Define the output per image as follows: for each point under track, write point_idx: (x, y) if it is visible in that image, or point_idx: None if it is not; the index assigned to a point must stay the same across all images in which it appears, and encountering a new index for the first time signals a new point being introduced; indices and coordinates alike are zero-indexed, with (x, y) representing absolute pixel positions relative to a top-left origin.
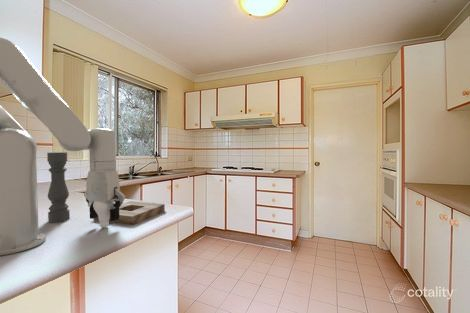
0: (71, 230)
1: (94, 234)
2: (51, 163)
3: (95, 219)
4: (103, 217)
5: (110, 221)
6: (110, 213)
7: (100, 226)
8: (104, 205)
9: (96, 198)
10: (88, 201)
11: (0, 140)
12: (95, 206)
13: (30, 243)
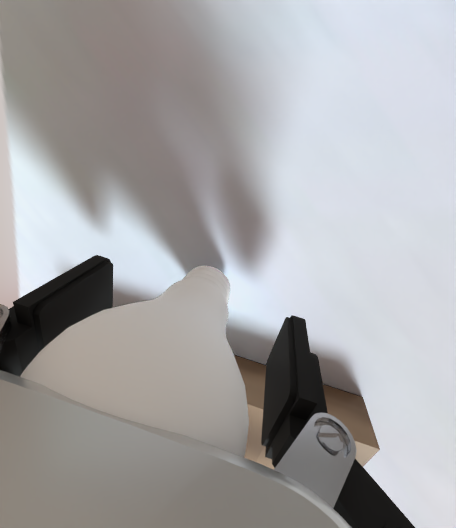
0: (404, 238)
1: (193, 174)
2: None
3: (348, 396)
4: (166, 291)
5: (237, 359)
6: (59, 283)
7: (217, 269)
8: (50, 345)
9: (53, 469)
10: (372, 509)
11: None
12: (148, 333)
13: None
